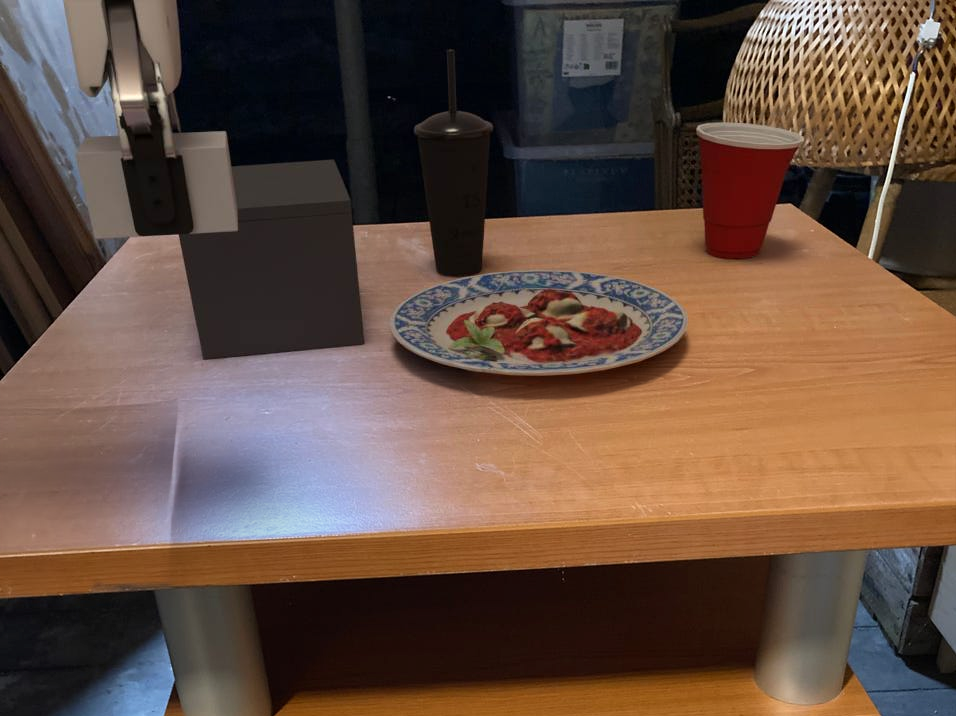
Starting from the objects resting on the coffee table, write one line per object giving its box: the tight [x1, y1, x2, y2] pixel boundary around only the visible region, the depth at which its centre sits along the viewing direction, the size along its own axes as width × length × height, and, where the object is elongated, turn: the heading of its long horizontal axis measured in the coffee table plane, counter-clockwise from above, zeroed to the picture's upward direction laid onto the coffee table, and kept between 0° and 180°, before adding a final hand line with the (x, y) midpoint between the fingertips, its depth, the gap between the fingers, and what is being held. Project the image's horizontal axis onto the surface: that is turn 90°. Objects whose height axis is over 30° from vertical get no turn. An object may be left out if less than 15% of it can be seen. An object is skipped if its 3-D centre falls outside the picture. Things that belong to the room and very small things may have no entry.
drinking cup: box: [413, 49, 494, 277], centre depth 99 cm, size 8×8×20 cm
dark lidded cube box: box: [178, 159, 365, 360], centre depth 90 cm, size 14×16×12 cm
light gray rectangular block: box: [74, 130, 238, 240], centre depth 57 cm, size 8×4×4 cm, turn 102°
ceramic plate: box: [389, 269, 689, 377], centre depth 87 cm, size 26×26×3 cm
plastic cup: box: [695, 121, 805, 259], centre depth 104 cm, size 11×11×12 cm
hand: (167, 218), depth 59 cm, fingers closed on light gray rectangular block, 4 cm apart
